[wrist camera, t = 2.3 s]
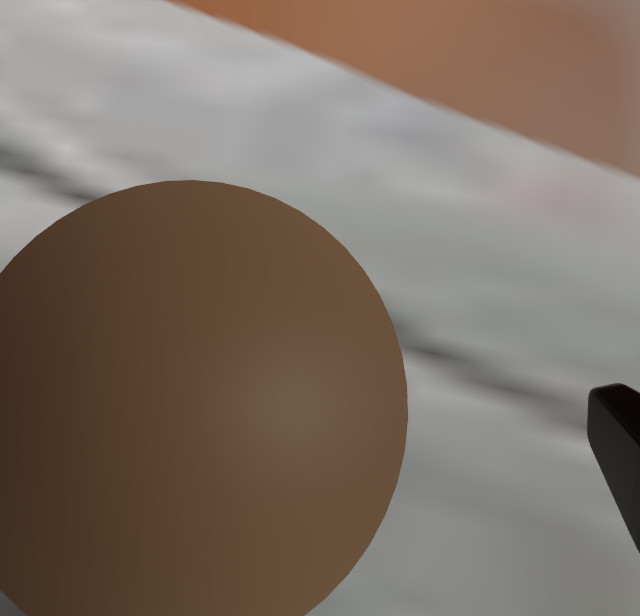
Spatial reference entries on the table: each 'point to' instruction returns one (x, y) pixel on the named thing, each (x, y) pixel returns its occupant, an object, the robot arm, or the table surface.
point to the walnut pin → (191, 408)
